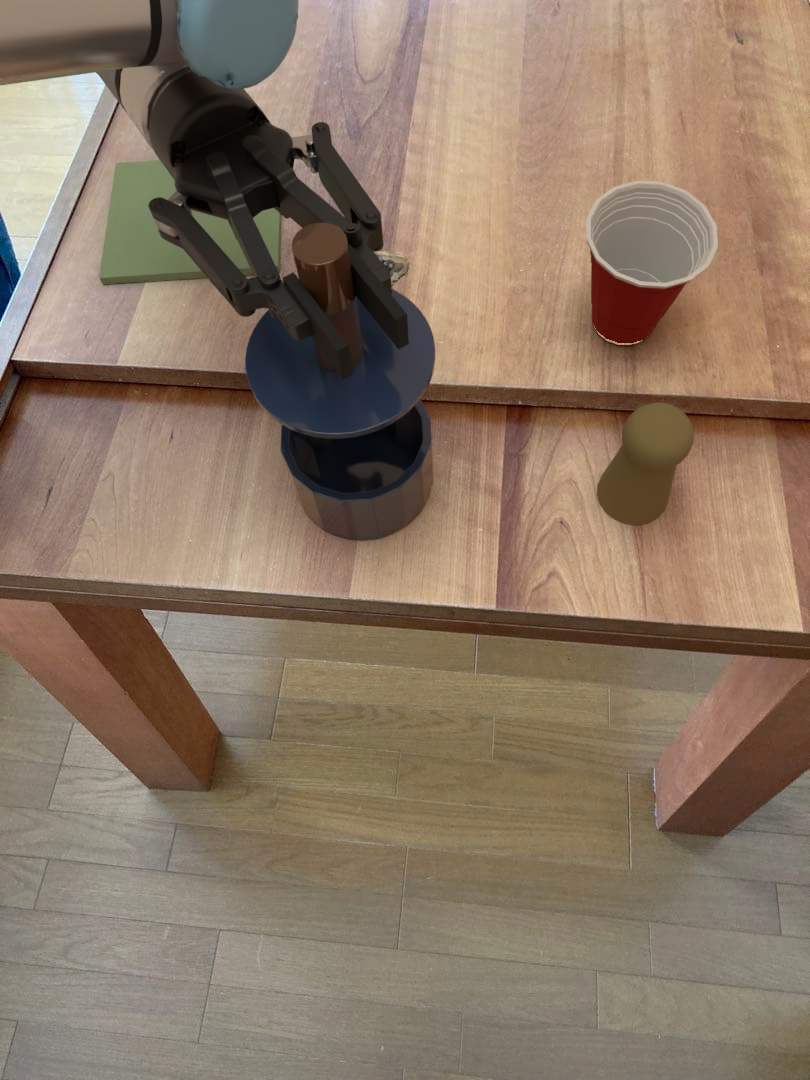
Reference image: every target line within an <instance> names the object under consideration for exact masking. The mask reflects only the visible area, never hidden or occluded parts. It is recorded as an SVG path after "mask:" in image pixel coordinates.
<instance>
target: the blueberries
mask: <svg viewBox="0 0 810 1080" xmlns="http://www.w3.org/2000/svg"><path fill="white" fill-rule="evenodd" d="M374 253H375V254H376V255H377V257H378V258H379V259H380V261H382V263H383V264H384V265H385V266H386V267H387V269H388V270H389V272H390V276H391V285H392V286H393V284H394V281H398V280H399V278H401V277H402V276H403V275H405V274H406V273H407V272H408V269H409V262H408V261H407V258H406V256H404V255H403V254H402V253H401V252H399V251H396V252H395V251H394V250H393V251H391V250H388V249H385V250H379V251H376V252H374Z"/></svg>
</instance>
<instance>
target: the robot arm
mask: <svg viewBox="0 0 810 1080" xmlns="http://www.w3.org/2000/svg"><path fill="white" fill-rule="evenodd" d="M299 6H300V5H299V0H0V86H1V87H2V86H8V85H15V84H22V83H29V82H37V81H43V80H44V81H45V80H50V79H58V78H65V77H72V76H79V75H86V74H87V75H88V74H94V73H96V74H97V75H98V76H99V78H100V79H101V80H102V82H103V83H104V84H105V86H106V87H107V89H108V90H109V92H110V93H111V94H112V95H113V97H114V98H115V100H116V101H117V103H118V104H119V106H120V107H122V109H123V111H124V112H125V113H126V115H128V117H129V119H130V120H131V121H132V122H133V124H134V125H135V127H136V128H137V130H138V131H139V132H140V134H141V136H142V137H143V138H144V140H145V141H146V142H147V143H146V144H148V145H149V147H150V148H151V149H152V150H153V152H154V154H155V155H156V158H158V160H160V161H161V162H162V164H163V165H164V166H165V168H166V169H167V171H168V172H169V173H170V175H171V176H172V178H173V179H174V180H175V182H174V183H175V188H176V190H177V191H176V192H175V193H174V194H173V195H172V196H171V197H170V198H169V199H168V200H166V199H164V198H161V197H159V198H154V199H152V200H151V201H150V202H149V205H148V207H149V209H150V211H151V214H152V217H153V219H154V221H155V224H156V226H157V228H158V231H159V233H160V235H161V237H162V238H163V239H164V240H166V241H168V242H170V243H172V244H174V245H176V246H178V247H180V248H182V249H183V250H184V251H185V252H186V253H187V254H188V255H189V257H190V258H191V259H192V260H193V261H194V263H195V264H196V265H197V266H198V267H199V268H200V270H201V271H202V272H203V273H204V274H205V275H206V277H207V278H206V279H208V280H209V281H210V283H211V284H212V285H213V286H214V287H215V289H216V290H217V291H218V292H219V293H220V295H222V297H223V298H224V299H225V301H227V303H228V304H229V305H230V306H231V308H232V309H233V310H234V311H235V312H236V313H237V314H238V316H240V317H242V318H243V317H244V318H249V317H251V316H253V315H254V314H255V313H256V311H257V310H260V309H261V310H262V309H267V310H269V313H270V315H271V317H273V318H275V319H279V320H280V321H281V323H282V324H283V325H284V326H285V328H286V330H287V331H288V332H289V334H290V335H291V336H292V338H294V339H295V340H297V341H299V342H300V341H302V340H304V339H306V338H308V337H310V336H311V337H312V339H313V340H314V341H315V343H316V344H317V345H318V347H319V348H320V349H321V351H322V352H323V353H324V355H325V356H326V358H327V359H328V360H329V362H330V363H331V364H332V366H333V367H334V368H335V370H336V371H337V372H338V374H339V375H340V377H341V378H342V379H345V378H347V377H349V376H351V375H353V374H354V373H353V367H352V361H351V355H350V349H349V345H348V343H347V342H346V341H345V339H344V338H343V337H342V335H341V334H340V333H339V332H338V330H337V329H336V328H335V326H334V325H333V324H332V322H331V321H330V320H329V318H328V317H327V316H326V314H325V313H324V312H323V310H322V309H321V308H320V307H319V305H318V304H317V303H316V301H315V300H314V299H313V297H312V296H311V295H310V293H309V292H308V291H307V289H306V288H305V287H304V286H303V285H302V283H301V282H300V280H299V278H298V275H296V274H295V272H290V273H289V274H286V275H285V276H282V279H281V276H280V273H279V272H278V270H277V268H276V266H275V264H274V262H273V260H272V257H271V255H270V253H269V251H268V249H267V247H266V245H265V243H264V241H263V238H262V236H261V234H260V232H259V230H258V228H257V226H256V224H255V222H254V219H253V218H254V217H255V216H256V215H258V214H259V213H260V212H261V211H263V210H267V209H271V208H274V209H276V210H277V211H278V212H279V213H280V214H281V216H282V217H283V218H285V219H287V220H288V219H291V220H292V221H293V222H295V223H296V225H298V226H299V227H300V228H301V229H302V228H304V227H306V226H308V225H311V224H314V223H329V224H333V225H335V226H337V227H339V228H340V229H341V230H342V231H343V232H344V233H345V235H346V237H347V242H348V248H349V255H350V262H351V269H352V276H353V283H354V290H355V295H356V297H357V298H358V299H359V300H360V302H361V303H362V304H363V306H364V307H365V308H366V309H367V311H368V312H369V313H370V314H371V316H372V317H373V318H374V319H375V321H376V322H377V323H378V324H379V326H380V327H381V328H382V330H383V331H384V332H385V333H386V335H387V336H388V337H389V338H390V340H391V341H392V342H393V343H394V345H395V346H396V347H397V348H398V350H399V349H401V348H402V347H404V346H406V345H408V344H409V337H408V321H407V314H406V312H405V311H404V310H403V309H402V307H401V306H400V305H399V304H398V302H397V301H396V300H395V299H394V298H393V296H392V295H391V294H392V289H393V285H391V276H390V272H389V270H388V269H387V267H386V266H385V265H384V264H383V263H382V261H380V259H379V258H378V257H377V255H376V254H375V253H374V252H376V251H382V249H383V248H384V244H385V243H384V234H383V233H384V232H383V223H382V214H381V211H380V210H379V208H377V205H376V204H375V203H374V201H373V200H372V198H370V195H368V193H367V191H366V190H365V189H364V188H363V186H362V185H361V183H360V182H359V181H358V179H357V178H356V176H355V175H354V174H353V172H352V170H351V169H350V168H349V166H348V165H347V164H346V162H345V161H344V160H343V158H342V156H341V155H340V154H339V152H338V150H337V149H336V148H335V147H334V146H333V142H332V136H331V135H332V134H331V129H330V125H329V124H328V123H327V122H324V121H318V122H315V123H314V124H313V125H312V126H311V134H307V135H301V136H300V135H299V136H293V137H292V136H291V135H290V133H289V132H288V131H286V130H285V129H283V128H280V127H277V126H276V125H274V124H272V123H271V122H270V120H269V118H268V117H267V115H266V114H265V112H264V111H263V110H262V109H261V107H260V106H259V105H258V104H257V102H256V101H255V100H254V98H253V97H252V96H250V94H249V93H248V92H247V91H246V90H245V89H249V88H252V87H254V86H257V85H258V84H261V83H262V82H264V81H265V80H266V79H268V78H269V77H270V76H272V74H274V73H275V72H276V71H277V70H278V68H279V67H280V66H281V65H282V63H283V62H284V60H285V58H286V57H287V55H288V53H289V51H290V49H291V47H292V46H293V43H294V39H295V37H296V33H297V24H298V19H299ZM295 160H300V161H302V162H303V164H304V165H305V166H306V167H307V168H309V169H310V172H311V174H318V177H319V180H320V183H321V185H322V186H323V187H324V189H325V190H326V192H327V193H328V195H329V197H330V198H331V199H332V200H333V202H334V204H335V205H336V206H337V208H338V210H339V211H338V210H337V209H335V208H334V207H333V206H332V205H331V204H330V203H329V202H327V201H326V200H325V199H324V198H322V197H321V196H320V195H318V193H317V192H315V191H314V190H313V189H312V188H311V187H309V186H308V185H307V184H306V183H305V182H303V181H302V180H301V179H300V178H299V177H298V176H297V174H296V172H295V170H294V166H295V162H296V161H295ZM191 210H194V211H197V212H201V213H204V214H208V215H212V216H215V217H219V218H223V219H226V220H228V222H229V224H230V227H231V229H232V231H233V233H234V235H235V238H236V240H237V241H238V242H239V245H240V247H241V249H242V251H243V253H244V256H245V258H246V260H247V262H248V264H249V267H250V269H251V271H252V273H253V275H252V276H253V277H249V278H248V277H246V275H244V274H243V273H242V272H241V271H240V270H239V269H238V267H237V266H236V265H235V264H234V263H233V262H232V261H231V259H230V258H229V257H228V256H227V255H226V254H225V253H224V252H223V250H222V249H221V248H220V247H219V246H218V245H217V244H216V242H215V241H214V240H213V239H212V238H211V237H210V236H209V234H208V233H207V232H206V231H205V230H204V229H203V228H202V226H201V225H200V224H199V223H198V222H197V221H196V220H195V219H194V217H193V215H192V212H191Z"/></svg>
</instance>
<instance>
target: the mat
mask: <svg viewBox="0 0 810 1080" xmlns="http://www.w3.org/2000/svg"><path fill="white" fill-rule="evenodd" d="M174 182H175V180H174V179H173V178H172V176H171V175H170V173H169V172H168V171H167V169H166V168H165V166H164V165H163V164H162V162H161V161H160V160H159V159H155V160H142V161H141V160H140V161H126V162H116V163H115V166H114V173H113V180H112V187H111V193H110V194H111V195H110V200H109V201H110V202H109V207H108V208H109V210H108V214H107V216H108V217H107V221H106V228H105V235H104V242H103V249H102V256H101V261H100V262H101V263H100V269H99V276H98V278H99V280H100V282H101V284H102V285H115V284H118V285H119V284H129V283H130V284H131V283H133V284H134V283H145V282H146V283H147V282H160V281H161V282H162V281H163V282H164V281H178V280H192V279H194V280H195V279H208V278H207V277H206V275H205V274H204V273H203V272H202V271H201V270H200V268H199V267H198V266H197V265H196V264H195V263H194V261H193V260H192V259H191V258H190V257H189V255H188V254H187V253H186V252H185V251H184V250H183V249H182V248H180V247H178V246H176V245H174V244H172V243H170V242H168V241H166V240H164V239H163V238H162V237H161V235H160V233H159V231H158V228H157V226H156V224H155V221H154V219H153V217H152V214H151V211H150V209H149V207H148V205H149V202H150V201H151V200H152V199H154V198H159V197H161V198H164V199H166V200H168V199H169V198H170V197H171V196H172V195H173V194H174V193H175V192H176V191H177V190H176V188H175V183H174ZM191 212H192V215H193V217H194V219H195V220H196V221H197V222H198V223H199V224H200V225H201V226H202V228H203V229H204V230H205V231H206V232H207V233H208V234H209V236H210V237H211V238H212V239H213V240H214V241H215V242H216V244H217V245H218V246H219V247H220V248H221V249H222V250H223V252H224V253H225V254H226V255H227V256H228V257H229V258H230V259H231V261H232V262H233V263H234V264H235V265H236V266H237V267H238V269H239V270H240V271H241V272H242V273H243V274H244V275H245V276H254V275H253V273H252V271H251V269H250V267H249V264H248V262H247V260H246V258H245V256H244V253H243V251H242V249H241V247H240V245H239V242H238V241H237V240H236V238H235V235H234V233H233V231H232V229H231V227H230V224H229V222H228V220H226V219H223V218H219V217H215V216H212V215H208V214H204V213H201V212H197V211H194V210H191ZM253 219H254V222H255V224H256V226H257V228H258V230H259V232H260V234H261V236H262V238H263V241H264V243H265V245H266V247H267V249H268V251H269V253H270V255H271V257H272V260H273V262H274V264H275V266H276V268H277V270H278V272H279V274H280V273H281V247H282V245H281V244H282V242H281V241H282V215H281V214H280V213H279V212H278V211H277V210H276V209H274V208H271V209H267V210H263V211H261V212H260V213H259V214H258V215H256V216H255V217H254V218H253Z"/></svg>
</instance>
